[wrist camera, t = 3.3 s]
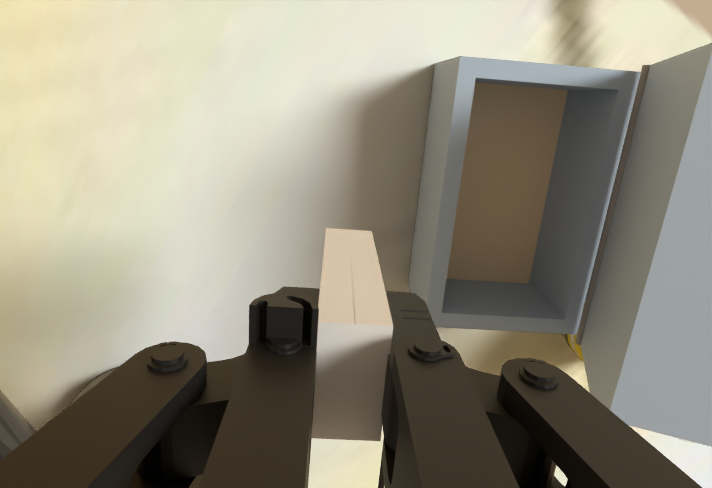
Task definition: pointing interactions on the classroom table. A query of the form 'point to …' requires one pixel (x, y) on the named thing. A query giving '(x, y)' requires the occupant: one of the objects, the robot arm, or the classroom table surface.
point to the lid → (658, 260)
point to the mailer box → (516, 191)
